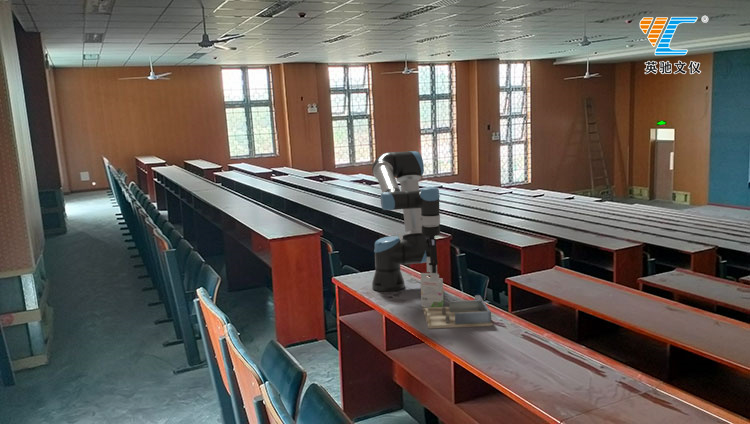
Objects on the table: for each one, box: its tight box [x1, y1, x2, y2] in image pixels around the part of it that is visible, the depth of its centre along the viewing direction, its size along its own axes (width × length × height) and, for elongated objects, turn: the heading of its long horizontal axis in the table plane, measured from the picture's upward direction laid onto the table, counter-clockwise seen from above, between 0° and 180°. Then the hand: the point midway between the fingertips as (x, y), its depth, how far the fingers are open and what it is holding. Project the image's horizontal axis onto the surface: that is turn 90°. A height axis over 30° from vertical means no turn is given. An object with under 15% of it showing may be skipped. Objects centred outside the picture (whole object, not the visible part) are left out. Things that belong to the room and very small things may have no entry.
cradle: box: [422, 306, 493, 329], centre depth 229 cm, size 21×24×4 cm
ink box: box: [420, 272, 445, 308], centre depth 243 cm, size 9×5×15 cm, turn 65°
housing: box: [448, 294, 492, 324], centre depth 229 cm, size 21×14×4 cm, turn 1°
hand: (432, 276), depth 241 cm, fingers open, 13 cm apart
